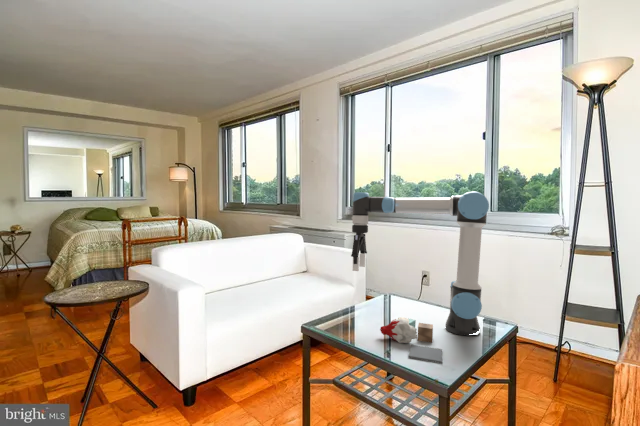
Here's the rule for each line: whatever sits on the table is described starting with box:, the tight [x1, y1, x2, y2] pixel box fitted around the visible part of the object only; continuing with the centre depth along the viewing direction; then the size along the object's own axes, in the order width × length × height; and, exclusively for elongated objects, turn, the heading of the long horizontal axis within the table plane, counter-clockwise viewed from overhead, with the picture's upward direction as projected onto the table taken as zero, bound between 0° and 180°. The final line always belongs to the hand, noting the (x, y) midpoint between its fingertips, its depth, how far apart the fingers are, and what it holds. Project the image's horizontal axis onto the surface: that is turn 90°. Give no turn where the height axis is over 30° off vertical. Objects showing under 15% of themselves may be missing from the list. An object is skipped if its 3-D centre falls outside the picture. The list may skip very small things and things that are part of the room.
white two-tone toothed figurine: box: [379, 318, 418, 344], centre depth 149 cm, size 9×11×15 cm
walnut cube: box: [417, 322, 434, 344], centre depth 151 cm, size 6×6×6 cm
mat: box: [408, 344, 443, 365], centre depth 134 cm, size 12×12×1 cm
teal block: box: [408, 317, 416, 328], centre depth 164 cm, size 4×6×4 cm, turn 140°
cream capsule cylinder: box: [397, 316, 410, 323], centre depth 159 cm, size 5×5×6 cm
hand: (358, 268), depth 166 cm, fingers open, 13 cm apart
